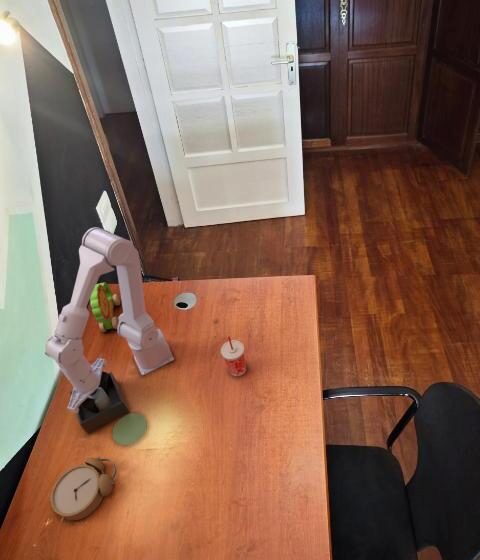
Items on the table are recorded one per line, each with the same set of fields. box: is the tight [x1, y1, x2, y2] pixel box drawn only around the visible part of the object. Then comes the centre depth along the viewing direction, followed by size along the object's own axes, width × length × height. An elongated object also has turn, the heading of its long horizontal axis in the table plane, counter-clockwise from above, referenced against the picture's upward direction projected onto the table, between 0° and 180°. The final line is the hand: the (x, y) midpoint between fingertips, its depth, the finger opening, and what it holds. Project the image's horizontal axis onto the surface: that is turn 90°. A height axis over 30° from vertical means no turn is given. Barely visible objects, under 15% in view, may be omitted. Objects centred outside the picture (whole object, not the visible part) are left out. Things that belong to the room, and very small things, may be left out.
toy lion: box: [89, 282, 121, 333], centre depth 143 cm, size 16×5×15 cm, turn 12°
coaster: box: [112, 412, 148, 446], centre depth 121 cm, size 9×9×1 cm
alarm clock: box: [48, 456, 118, 524], centre depth 110 cm, size 11×5×15 cm
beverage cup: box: [220, 336, 247, 377], centre depth 126 cm, size 6×6×14 cm
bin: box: [69, 371, 130, 435], centre depth 124 cm, size 11×11×5 cm
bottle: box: [89, 387, 112, 414], centre depth 123 cm, size 5×5×9 cm
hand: (100, 402), depth 124 cm, fingers closed on bottle, 5 cm apart
